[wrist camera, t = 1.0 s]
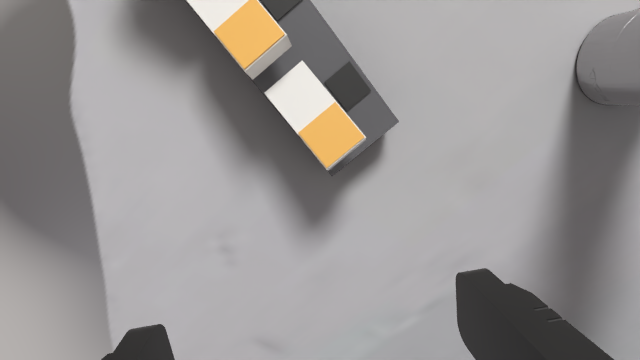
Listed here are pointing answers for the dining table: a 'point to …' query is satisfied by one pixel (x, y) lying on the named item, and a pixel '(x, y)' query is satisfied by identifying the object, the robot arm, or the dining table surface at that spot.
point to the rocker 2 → (315, 115)
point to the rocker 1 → (244, 31)
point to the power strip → (325, 70)
